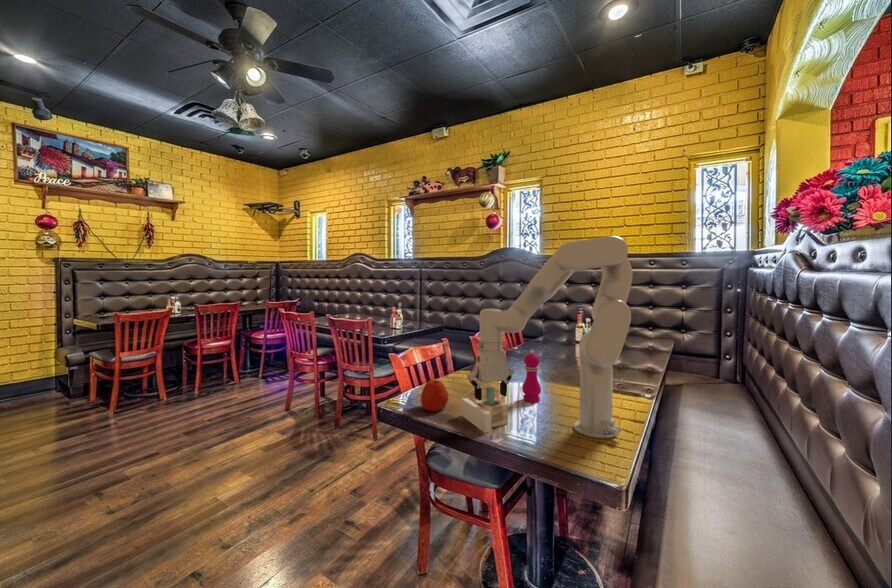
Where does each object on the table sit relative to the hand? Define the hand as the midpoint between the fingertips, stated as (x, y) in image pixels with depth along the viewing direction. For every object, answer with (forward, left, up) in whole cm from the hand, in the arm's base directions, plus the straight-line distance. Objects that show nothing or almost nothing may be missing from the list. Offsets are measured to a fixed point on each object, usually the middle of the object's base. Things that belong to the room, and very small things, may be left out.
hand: (490, 397), depth 124 cm
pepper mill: (+12, -26, -8) cm, 30 cm away
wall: (+1, +5, -8) cm, 10 cm away
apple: (+20, +12, -9) cm, 25 cm away
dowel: (0, 0, -7) cm, 7 cm away
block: (0, 0, -8) cm, 8 cm away
